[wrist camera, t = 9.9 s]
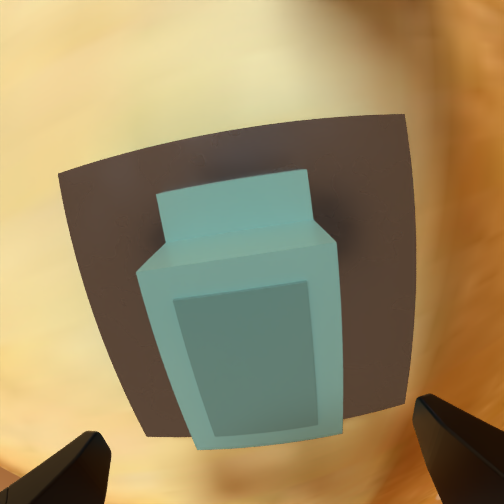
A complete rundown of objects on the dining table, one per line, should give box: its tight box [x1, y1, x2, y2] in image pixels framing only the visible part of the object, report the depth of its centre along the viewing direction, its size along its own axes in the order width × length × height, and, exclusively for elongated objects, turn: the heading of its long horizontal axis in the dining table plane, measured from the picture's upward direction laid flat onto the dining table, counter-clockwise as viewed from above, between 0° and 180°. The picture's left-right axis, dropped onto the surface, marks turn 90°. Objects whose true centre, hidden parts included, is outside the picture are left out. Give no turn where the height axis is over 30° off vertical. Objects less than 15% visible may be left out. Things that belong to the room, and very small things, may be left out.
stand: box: [58, 114, 416, 437], centre depth 16 cm, size 16×16×3 cm
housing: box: [136, 169, 343, 450], centre depth 12 cm, size 12×6×5 cm, turn 9°
